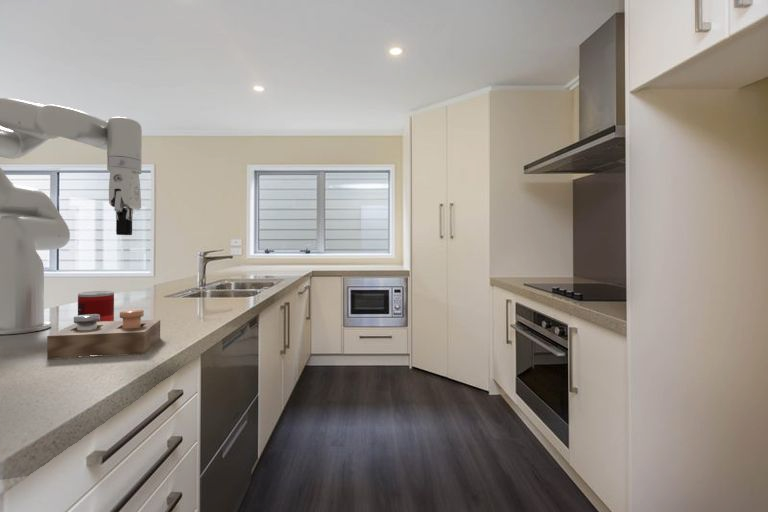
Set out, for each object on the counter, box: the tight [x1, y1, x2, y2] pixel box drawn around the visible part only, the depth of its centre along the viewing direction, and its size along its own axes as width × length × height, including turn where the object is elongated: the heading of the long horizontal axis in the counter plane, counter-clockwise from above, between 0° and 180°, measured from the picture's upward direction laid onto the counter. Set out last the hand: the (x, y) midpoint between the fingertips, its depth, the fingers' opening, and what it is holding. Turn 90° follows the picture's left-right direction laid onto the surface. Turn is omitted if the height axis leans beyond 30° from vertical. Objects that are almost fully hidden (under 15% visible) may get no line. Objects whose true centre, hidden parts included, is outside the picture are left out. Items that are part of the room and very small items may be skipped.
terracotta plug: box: [119, 309, 145, 329], centre depth 90 cm, size 5×5×7 cm
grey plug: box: [73, 314, 100, 330], centre depth 87 cm, size 5×5×7 cm
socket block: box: [46, 319, 161, 360], centre depth 88 cm, size 18×14×5 cm
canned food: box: [77, 290, 115, 322], centre depth 103 cm, size 8×8×11 cm
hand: (124, 234), depth 100 cm, fingers closed
